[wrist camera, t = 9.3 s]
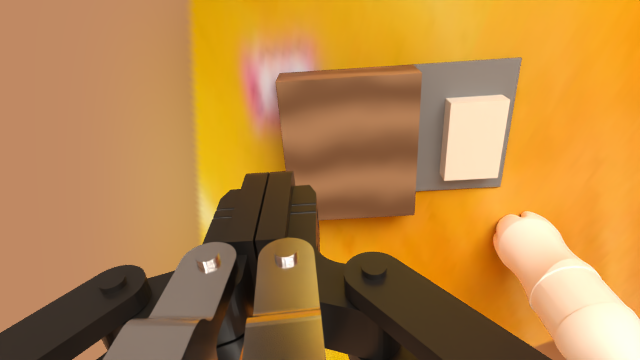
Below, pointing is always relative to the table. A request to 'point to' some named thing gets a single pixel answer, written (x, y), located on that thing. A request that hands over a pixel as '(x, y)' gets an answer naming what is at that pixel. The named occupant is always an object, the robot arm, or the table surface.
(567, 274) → the water bottle
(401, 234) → the table surface
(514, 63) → the mat
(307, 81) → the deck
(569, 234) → the table surface
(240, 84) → the table surface
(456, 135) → the white flat block
